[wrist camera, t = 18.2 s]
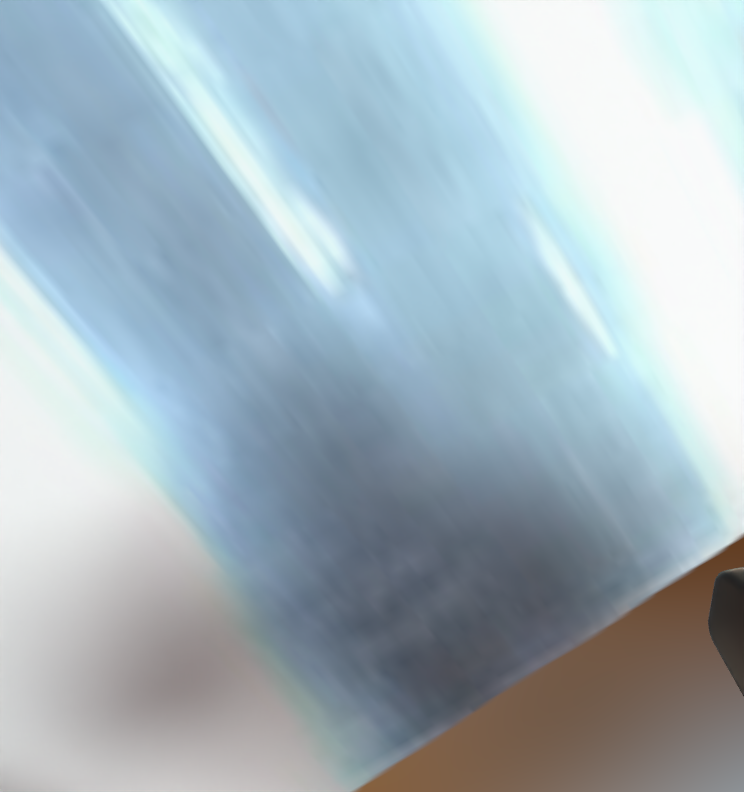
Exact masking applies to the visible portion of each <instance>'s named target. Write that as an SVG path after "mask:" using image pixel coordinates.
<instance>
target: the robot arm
mask: <svg viewBox="0 0 744 792" xmlns="http://www.w3.org/2000/svg"><path fill="white" fill-rule="evenodd" d="M708 624H709V631H710V635H711V637H712V640H713V642H714V644H715V646H716V648H717V650H718V651H719V653H720V655H721V657H722V659H723V660H724V662H725V664H726V666H727V667H728V669H729V671H730V673H731V675H732V676H733V678H734V680H735V682H736V683H737V685H738V687H739V689H740V691H741V692H742V694H743V696H744V567H741V568H736V569H731V570H726V571H723V572H721V573H719V574H718V576H717V577H716V579H715V583H714V589H713V596H712V601H711V608H710V613H709V620H708Z"/></svg>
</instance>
